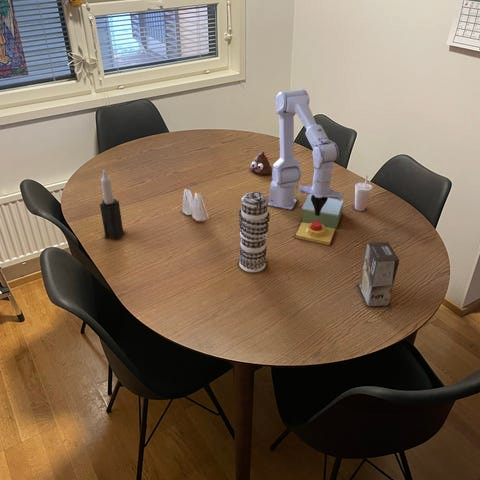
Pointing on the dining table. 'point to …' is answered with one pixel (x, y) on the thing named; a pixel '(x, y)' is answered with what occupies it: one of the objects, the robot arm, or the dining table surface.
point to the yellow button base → (315, 234)
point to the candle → (110, 211)
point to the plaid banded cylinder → (253, 231)
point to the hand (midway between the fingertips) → (317, 214)
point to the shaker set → (194, 206)
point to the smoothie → (362, 195)
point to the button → (316, 226)
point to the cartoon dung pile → (261, 165)
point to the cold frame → (322, 218)
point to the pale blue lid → (325, 206)
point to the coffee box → (378, 273)
